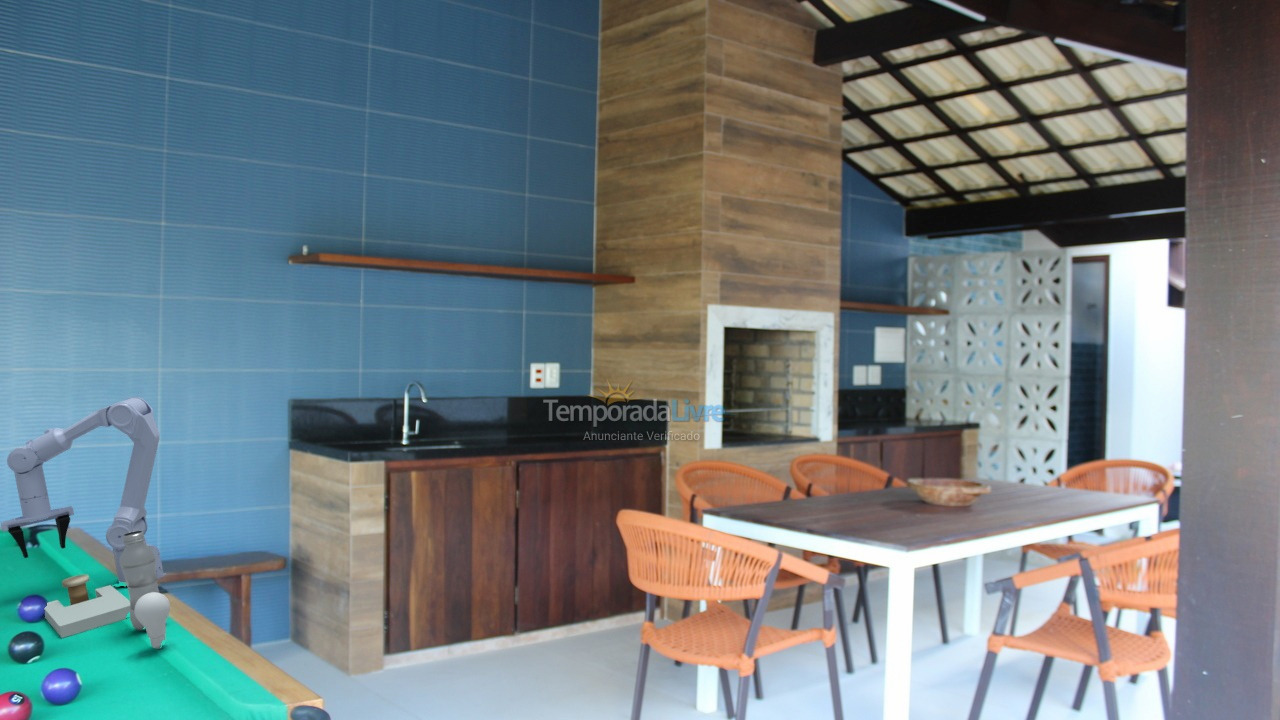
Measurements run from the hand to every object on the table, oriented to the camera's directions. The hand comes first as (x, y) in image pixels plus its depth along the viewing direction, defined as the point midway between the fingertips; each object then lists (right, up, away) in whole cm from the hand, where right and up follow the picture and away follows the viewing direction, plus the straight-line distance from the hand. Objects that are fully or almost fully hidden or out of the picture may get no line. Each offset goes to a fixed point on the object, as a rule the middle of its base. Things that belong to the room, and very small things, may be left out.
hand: (44, 552), depth 233 cm
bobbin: (+16, -10, -12) cm, 22 cm away
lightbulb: (+48, -10, -44) cm, 66 cm away
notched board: (+20, -10, -18) cm, 29 cm away
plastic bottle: (+40, -10, -31) cm, 52 cm away
